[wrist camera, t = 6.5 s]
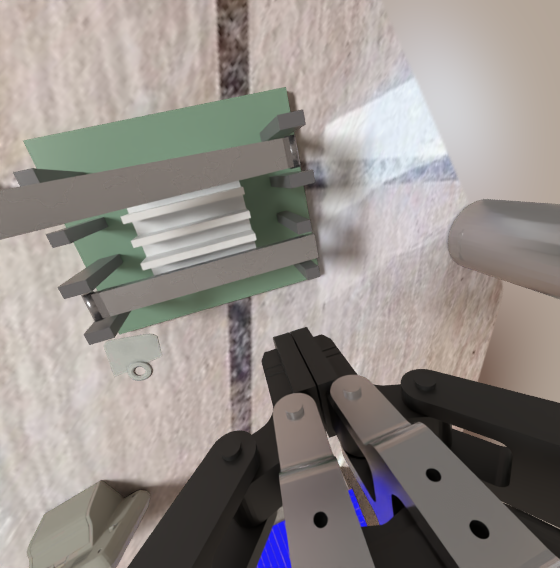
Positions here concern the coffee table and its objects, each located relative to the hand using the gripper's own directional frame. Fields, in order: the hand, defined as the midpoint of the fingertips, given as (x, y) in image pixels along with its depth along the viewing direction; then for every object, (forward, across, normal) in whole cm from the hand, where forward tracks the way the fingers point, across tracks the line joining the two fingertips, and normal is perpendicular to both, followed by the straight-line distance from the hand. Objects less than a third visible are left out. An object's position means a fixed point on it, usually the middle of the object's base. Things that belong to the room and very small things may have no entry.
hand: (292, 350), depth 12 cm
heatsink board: (+23, +4, -4) cm, 23 cm away
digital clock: (+23, +30, +31) cm, 49 cm away
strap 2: (+15, +4, 0) cm, 15 cm away
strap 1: (+11, +3, -8) cm, 14 cm away
